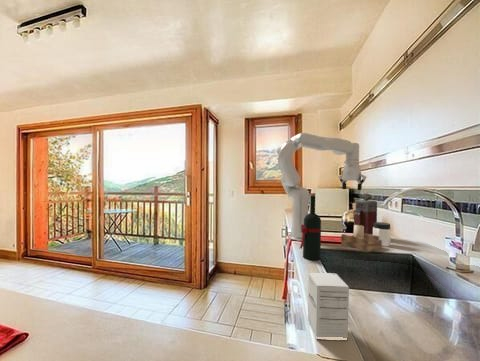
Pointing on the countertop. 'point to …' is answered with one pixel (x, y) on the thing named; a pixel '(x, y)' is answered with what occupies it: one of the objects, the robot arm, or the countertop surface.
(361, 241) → the holder
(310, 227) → the wine bottle
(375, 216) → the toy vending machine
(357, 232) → the roll
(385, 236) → the jar
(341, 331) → the supplement box
